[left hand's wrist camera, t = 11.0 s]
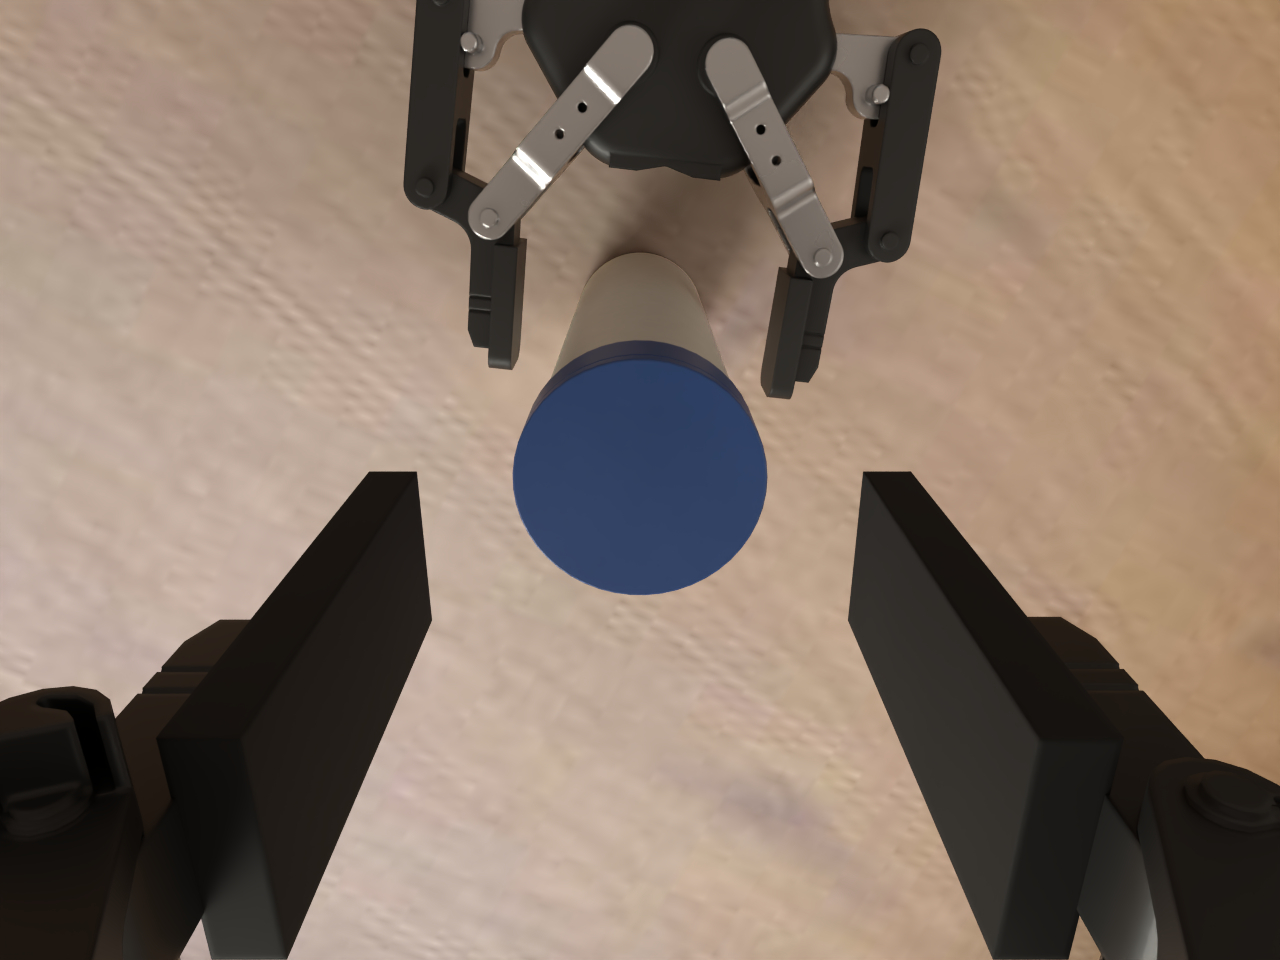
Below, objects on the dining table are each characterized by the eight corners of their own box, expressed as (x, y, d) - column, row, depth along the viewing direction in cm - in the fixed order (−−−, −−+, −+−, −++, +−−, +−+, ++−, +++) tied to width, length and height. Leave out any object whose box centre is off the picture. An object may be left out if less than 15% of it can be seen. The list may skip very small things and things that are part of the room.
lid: (631, 287, 17) (630, 302, 16) (805, 447, 18) (820, 475, 17) (475, 462, 18) (460, 491, 17) (647, 600, 20) (648, 639, 18)
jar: (635, 224, 31) (631, 312, 16) (727, 311, 32) (804, 467, 17) (553, 319, 32) (476, 483, 17) (644, 398, 34) (647, 618, 18)
